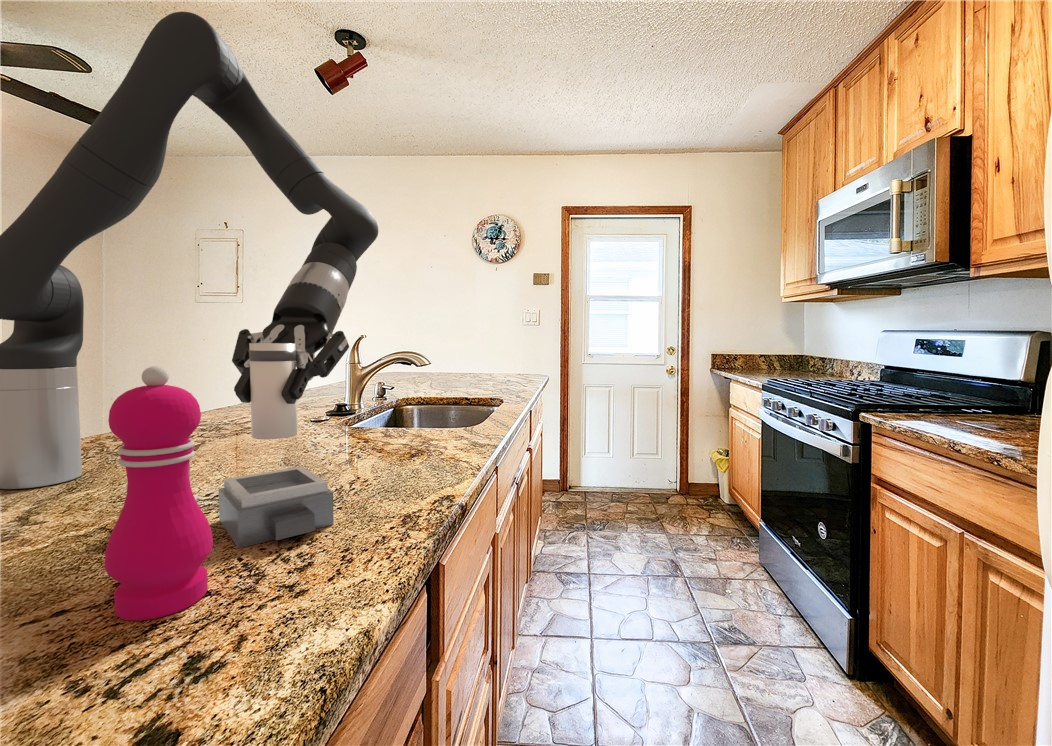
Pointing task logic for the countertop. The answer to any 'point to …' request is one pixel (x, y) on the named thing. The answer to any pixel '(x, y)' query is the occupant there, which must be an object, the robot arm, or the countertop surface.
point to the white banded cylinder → (271, 390)
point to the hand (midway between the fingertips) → (265, 398)
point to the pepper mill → (157, 503)
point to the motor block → (274, 505)
